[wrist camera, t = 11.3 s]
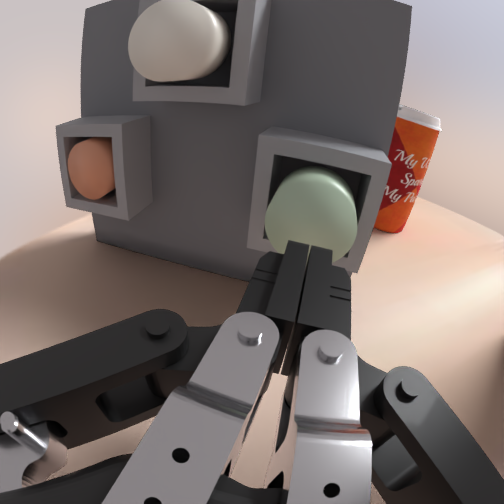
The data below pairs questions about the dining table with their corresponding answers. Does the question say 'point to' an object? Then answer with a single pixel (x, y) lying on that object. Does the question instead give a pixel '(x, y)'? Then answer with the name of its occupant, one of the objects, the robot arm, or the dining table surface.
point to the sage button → (313, 212)
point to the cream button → (178, 41)
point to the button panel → (239, 125)
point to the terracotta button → (92, 167)
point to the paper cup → (406, 166)
